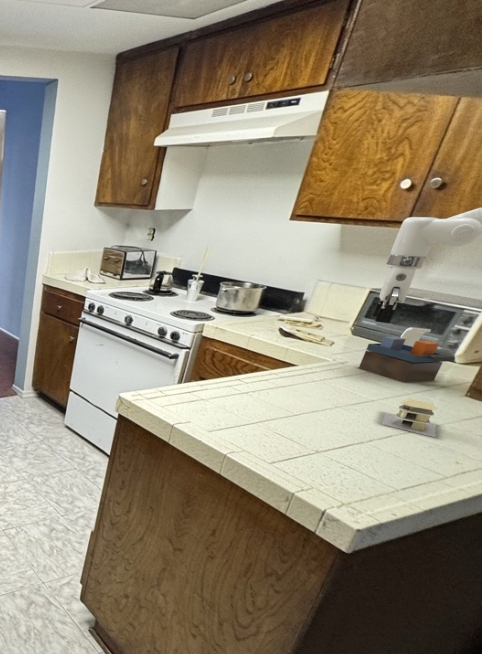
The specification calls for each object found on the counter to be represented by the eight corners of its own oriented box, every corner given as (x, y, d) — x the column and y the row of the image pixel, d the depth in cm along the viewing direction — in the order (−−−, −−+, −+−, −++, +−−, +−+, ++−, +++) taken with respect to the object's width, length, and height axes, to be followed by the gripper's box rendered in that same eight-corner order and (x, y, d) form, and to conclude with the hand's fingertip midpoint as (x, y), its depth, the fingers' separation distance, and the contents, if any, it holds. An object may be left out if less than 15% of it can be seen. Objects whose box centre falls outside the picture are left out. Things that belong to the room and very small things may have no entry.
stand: (433, 380, 144) (442, 362, 142) (404, 382, 142) (412, 363, 140) (386, 366, 156) (393, 349, 154) (358, 368, 154) (365, 350, 152)
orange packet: (432, 357, 143) (438, 343, 142) (420, 358, 143) (427, 343, 141) (420, 354, 146) (427, 340, 144) (409, 355, 145) (415, 341, 144)
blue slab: (459, 365, 138) (463, 356, 137) (428, 366, 137) (432, 357, 136) (394, 348, 154) (397, 340, 153) (366, 349, 152) (369, 341, 151)
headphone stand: (397, 361, 162) (412, 327, 157) (391, 357, 167) (405, 324, 162) (415, 363, 160) (431, 329, 155) (408, 359, 165) (424, 326, 160)
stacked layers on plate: (385, 413, 120) (394, 393, 118) (435, 425, 114) (446, 404, 112) (381, 424, 114) (391, 403, 112) (435, 437, 108) (446, 416, 106)
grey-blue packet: (399, 352, 148) (405, 338, 146) (388, 353, 147) (394, 339, 145) (389, 349, 150) (395, 336, 149) (377, 350, 150) (383, 336, 148)
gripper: (427, 265, 128) (401, 326, 135) (419, 261, 140) (394, 317, 147) (389, 263, 133) (365, 322, 139) (384, 258, 145) (362, 313, 151)
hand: (380, 319), depth 143 cm, fingers open, 9 cm apart
